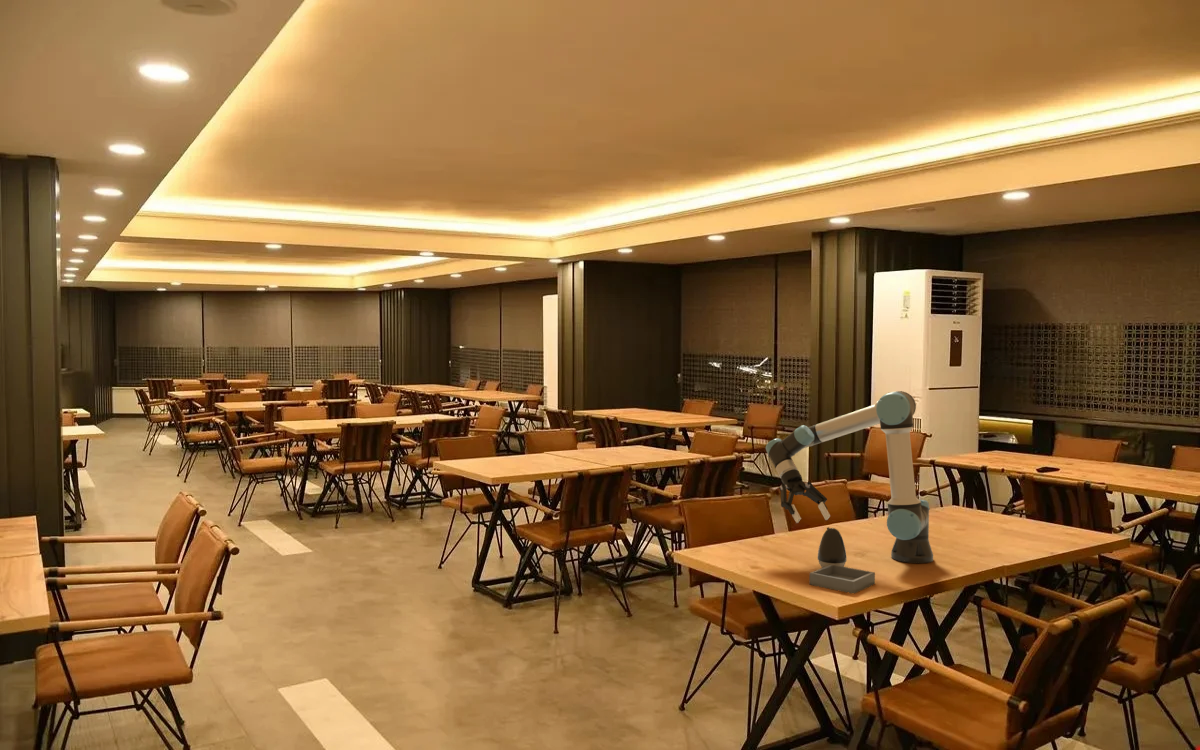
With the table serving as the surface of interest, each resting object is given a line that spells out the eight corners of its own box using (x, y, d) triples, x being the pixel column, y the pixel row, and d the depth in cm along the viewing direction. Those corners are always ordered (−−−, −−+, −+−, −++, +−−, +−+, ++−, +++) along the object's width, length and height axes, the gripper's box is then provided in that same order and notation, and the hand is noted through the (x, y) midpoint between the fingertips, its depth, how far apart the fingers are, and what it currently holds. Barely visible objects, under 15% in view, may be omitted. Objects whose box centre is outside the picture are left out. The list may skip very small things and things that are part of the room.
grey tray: (831, 575, 301) (831, 564, 301) (874, 584, 290) (874, 572, 290) (809, 584, 289) (809, 572, 289) (853, 593, 278) (853, 581, 278)
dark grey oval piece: (841, 565, 315) (841, 525, 314) (850, 573, 305) (850, 531, 304) (813, 565, 315) (814, 525, 314) (822, 573, 304) (822, 531, 304)
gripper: (810, 478, 339) (835, 522, 326) (758, 481, 329) (781, 527, 316) (819, 466, 335) (844, 511, 321) (766, 470, 324) (790, 516, 311)
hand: (813, 519), depth 319 cm, fingers open, 13 cm apart
